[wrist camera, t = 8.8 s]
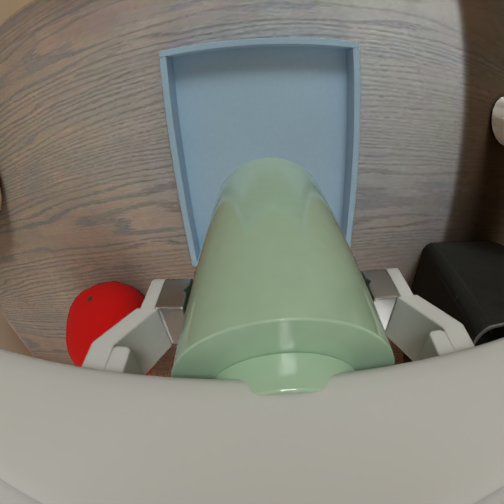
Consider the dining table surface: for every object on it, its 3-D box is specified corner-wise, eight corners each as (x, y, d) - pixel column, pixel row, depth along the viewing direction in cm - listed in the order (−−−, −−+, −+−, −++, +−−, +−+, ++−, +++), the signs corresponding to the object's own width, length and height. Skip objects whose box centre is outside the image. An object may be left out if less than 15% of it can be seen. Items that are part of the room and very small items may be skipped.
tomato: (109, 252, 36) (132, 320, 44) (34, 302, 28) (74, 366, 35) (171, 292, 31) (188, 362, 38) (79, 364, 22) (124, 421, 30)
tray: (167, 53, 21) (158, 51, 19) (350, 44, 20) (359, 42, 18) (196, 252, 33) (192, 266, 30) (342, 245, 32) (348, 259, 30)
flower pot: (376, 333, 40) (406, 433, 26) (404, 221, 30) (483, 332, 16) (470, 316, 39) (510, 393, 25) (509, 219, 29) (580, 295, 15)
